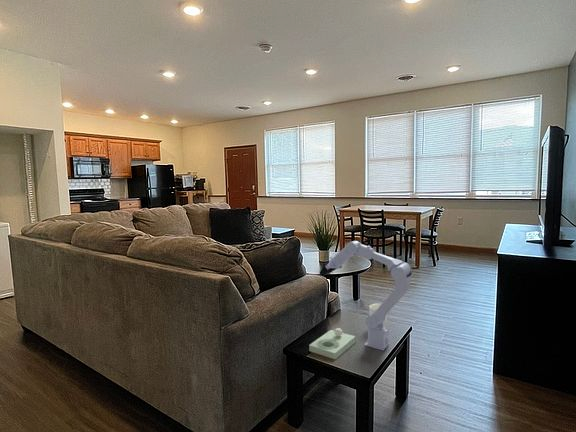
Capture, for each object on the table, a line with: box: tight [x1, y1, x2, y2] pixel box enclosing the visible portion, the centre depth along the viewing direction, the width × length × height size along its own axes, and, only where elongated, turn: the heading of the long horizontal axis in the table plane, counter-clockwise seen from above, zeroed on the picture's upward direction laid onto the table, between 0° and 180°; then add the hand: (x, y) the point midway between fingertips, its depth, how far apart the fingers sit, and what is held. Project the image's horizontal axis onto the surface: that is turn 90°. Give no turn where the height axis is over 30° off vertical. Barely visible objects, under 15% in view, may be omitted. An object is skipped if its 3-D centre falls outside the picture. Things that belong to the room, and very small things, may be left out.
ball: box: [334, 327, 344, 337], centre depth 168 cm, size 4×4×4 cm
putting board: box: [308, 329, 357, 360], centre depth 164 cm, size 14×20×3 cm
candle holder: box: [368, 303, 389, 330], centre depth 181 cm, size 10×10×12 cm
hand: (324, 272), depth 178 cm, fingers open, 7 cm apart
